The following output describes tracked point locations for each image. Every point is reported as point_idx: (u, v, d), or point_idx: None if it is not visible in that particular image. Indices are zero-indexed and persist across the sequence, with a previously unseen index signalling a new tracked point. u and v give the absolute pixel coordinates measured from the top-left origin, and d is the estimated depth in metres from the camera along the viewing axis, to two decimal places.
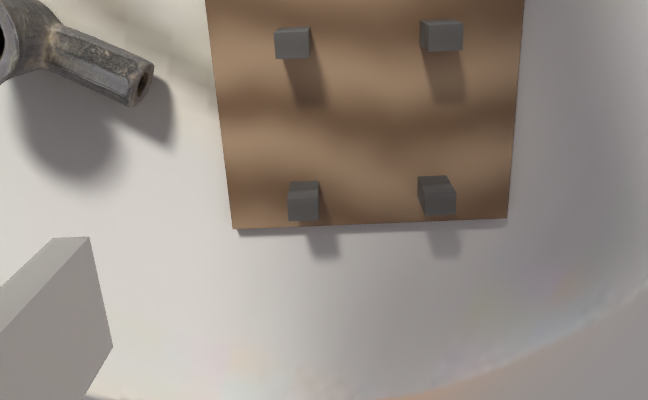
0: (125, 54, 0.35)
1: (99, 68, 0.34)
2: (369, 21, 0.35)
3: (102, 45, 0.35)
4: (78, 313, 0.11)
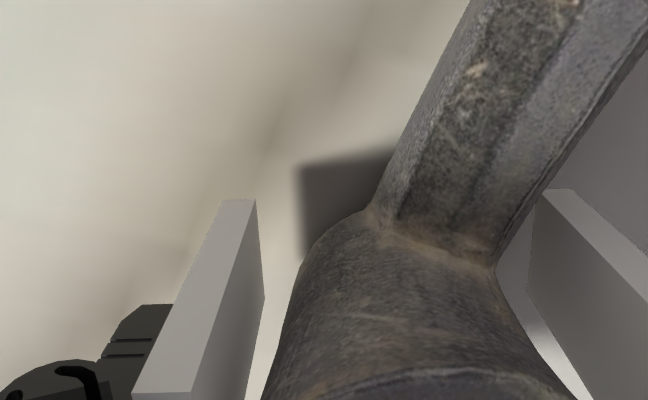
0: (481, 11, 0.10)
1: (536, 94, 0.09)
2: None
3: (445, 87, 0.10)
4: (253, 263, 0.12)
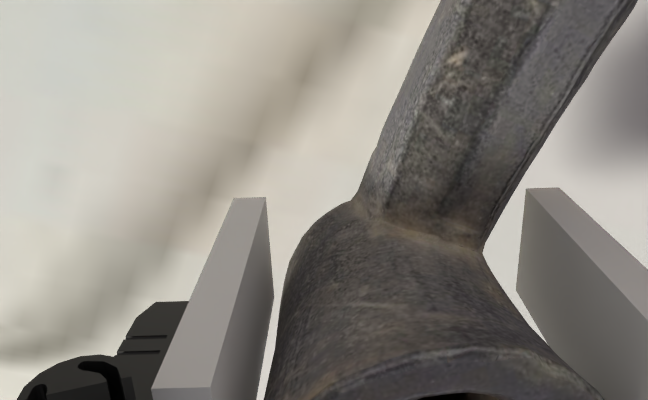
0: (459, 1, 0.10)
1: (516, 80, 0.10)
2: None
3: (427, 76, 0.11)
4: (264, 261, 0.12)
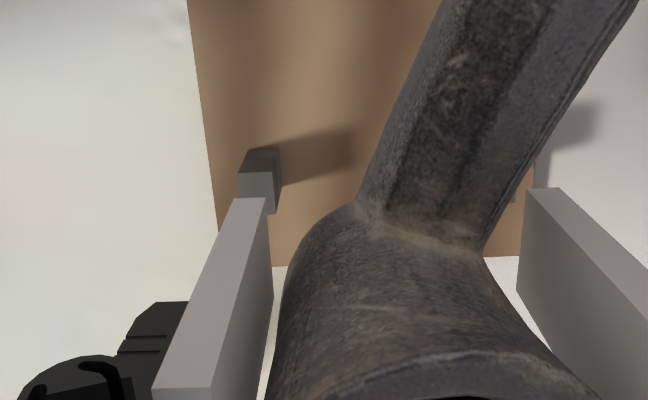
0: (459, 3, 0.10)
1: (516, 82, 0.10)
2: (237, 71, 0.26)
3: (427, 78, 0.11)
4: (264, 261, 0.12)
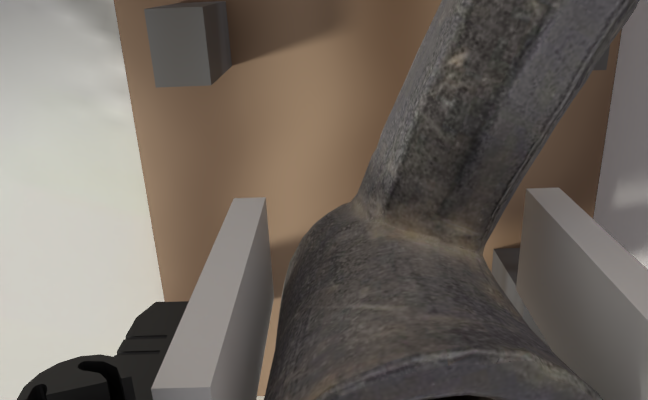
0: (459, 2, 0.10)
1: (516, 82, 0.10)
2: (195, 161, 0.19)
3: (427, 78, 0.11)
4: (264, 261, 0.12)
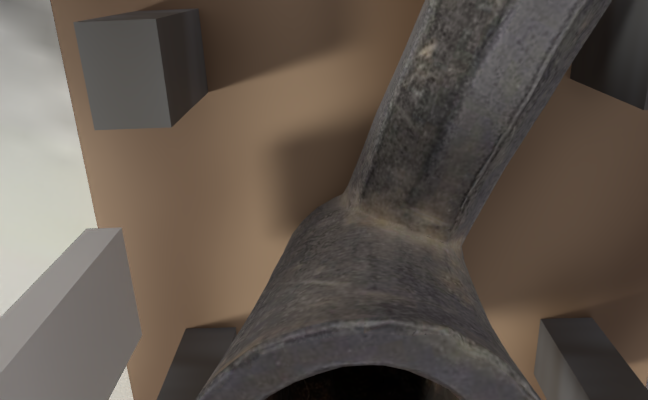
0: None
1: (479, 71, 0.10)
2: (163, 211, 0.15)
3: (402, 69, 0.11)
4: (112, 301, 0.11)
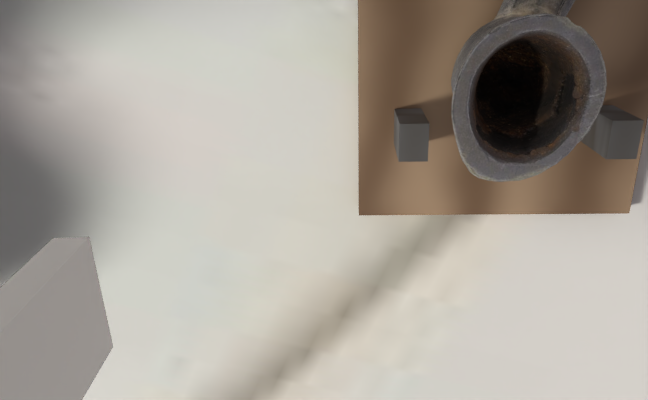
0: None
1: None
2: (393, 38, 0.30)
3: None
4: (78, 313, 0.11)
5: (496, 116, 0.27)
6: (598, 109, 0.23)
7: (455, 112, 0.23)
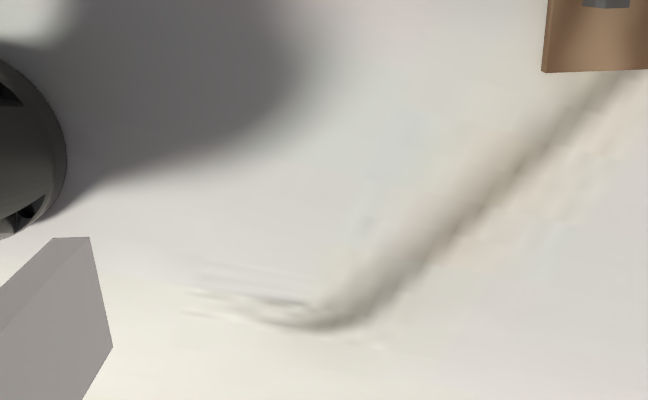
0: None
1: None
2: None
3: None
4: (78, 313, 0.11)
5: None
6: None
7: None
